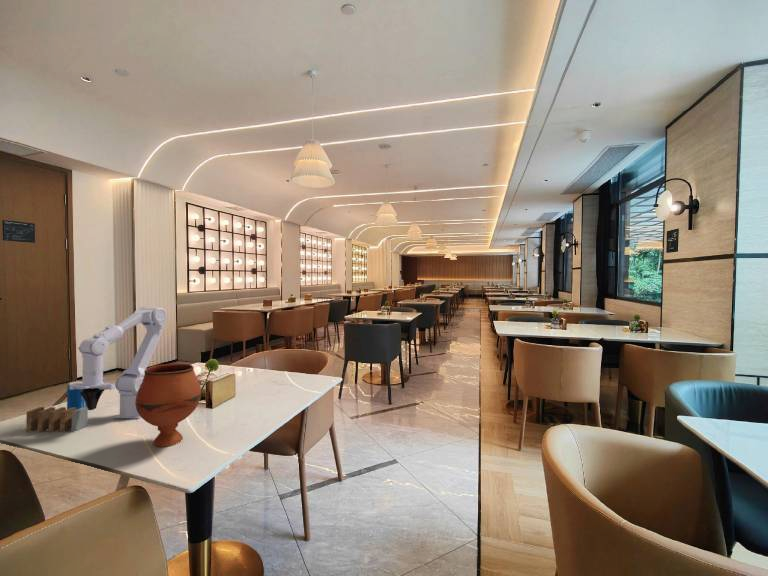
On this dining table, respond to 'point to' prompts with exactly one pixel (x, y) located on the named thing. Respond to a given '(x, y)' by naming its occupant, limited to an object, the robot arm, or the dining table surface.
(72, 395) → the beverage can
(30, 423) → the walnut end tile
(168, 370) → the goblet
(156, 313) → the robot arm
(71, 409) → the walnut tile
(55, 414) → the walnut tile
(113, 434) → the dining table surface
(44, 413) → the walnut tile
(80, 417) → the slate head tile
